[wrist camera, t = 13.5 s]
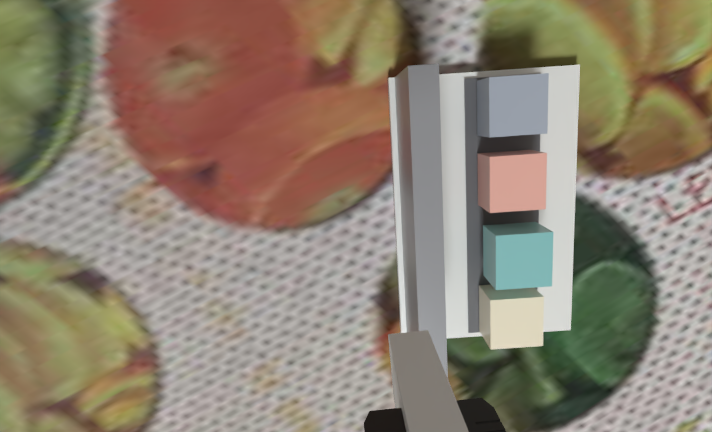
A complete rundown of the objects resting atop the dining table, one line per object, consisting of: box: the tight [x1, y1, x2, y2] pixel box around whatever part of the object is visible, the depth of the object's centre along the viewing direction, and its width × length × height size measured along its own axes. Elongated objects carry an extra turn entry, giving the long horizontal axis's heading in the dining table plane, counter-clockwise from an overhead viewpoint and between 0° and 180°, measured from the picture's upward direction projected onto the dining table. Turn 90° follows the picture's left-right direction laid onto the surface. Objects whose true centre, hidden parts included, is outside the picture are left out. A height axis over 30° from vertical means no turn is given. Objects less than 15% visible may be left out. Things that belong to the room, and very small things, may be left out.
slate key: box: [477, 73, 549, 138], centre depth 37 cm, size 4×4×4 cm
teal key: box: [483, 222, 553, 290], centre depth 38 cm, size 4×4×4 cm
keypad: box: [388, 64, 580, 379], centre depth 37 cm, size 16×24×10 cm, turn 4°
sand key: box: [479, 285, 544, 349], centre depth 41 cm, size 4×4×4 cm
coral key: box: [477, 150, 547, 213], centre depth 38 cm, size 4×4×4 cm
